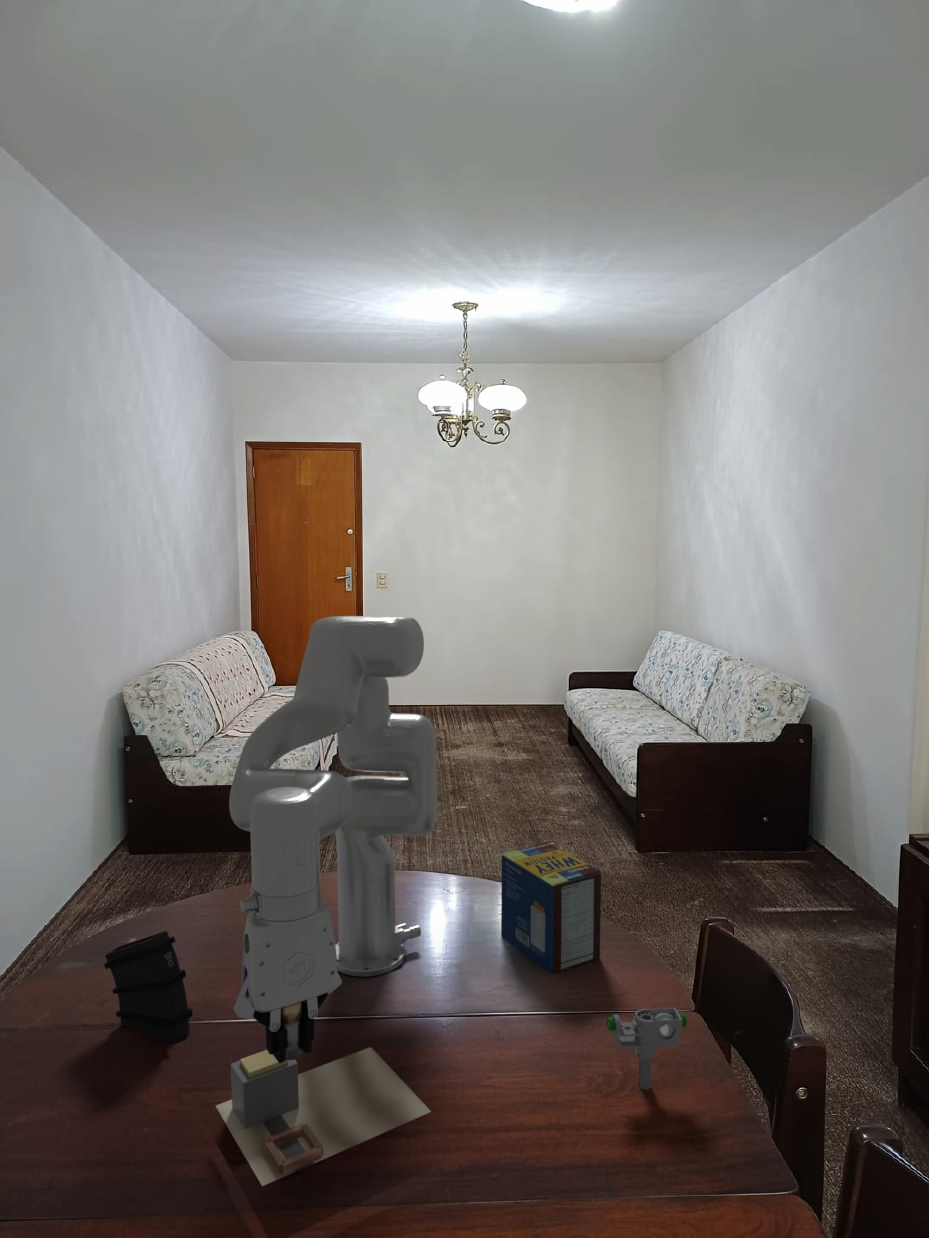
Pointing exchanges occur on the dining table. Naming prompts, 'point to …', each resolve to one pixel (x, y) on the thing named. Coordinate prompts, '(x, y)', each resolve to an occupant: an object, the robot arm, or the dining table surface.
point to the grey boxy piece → (263, 1088)
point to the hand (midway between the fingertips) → (290, 1050)
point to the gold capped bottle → (292, 1029)
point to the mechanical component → (648, 1035)
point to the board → (327, 1115)
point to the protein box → (551, 906)
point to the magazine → (150, 987)
